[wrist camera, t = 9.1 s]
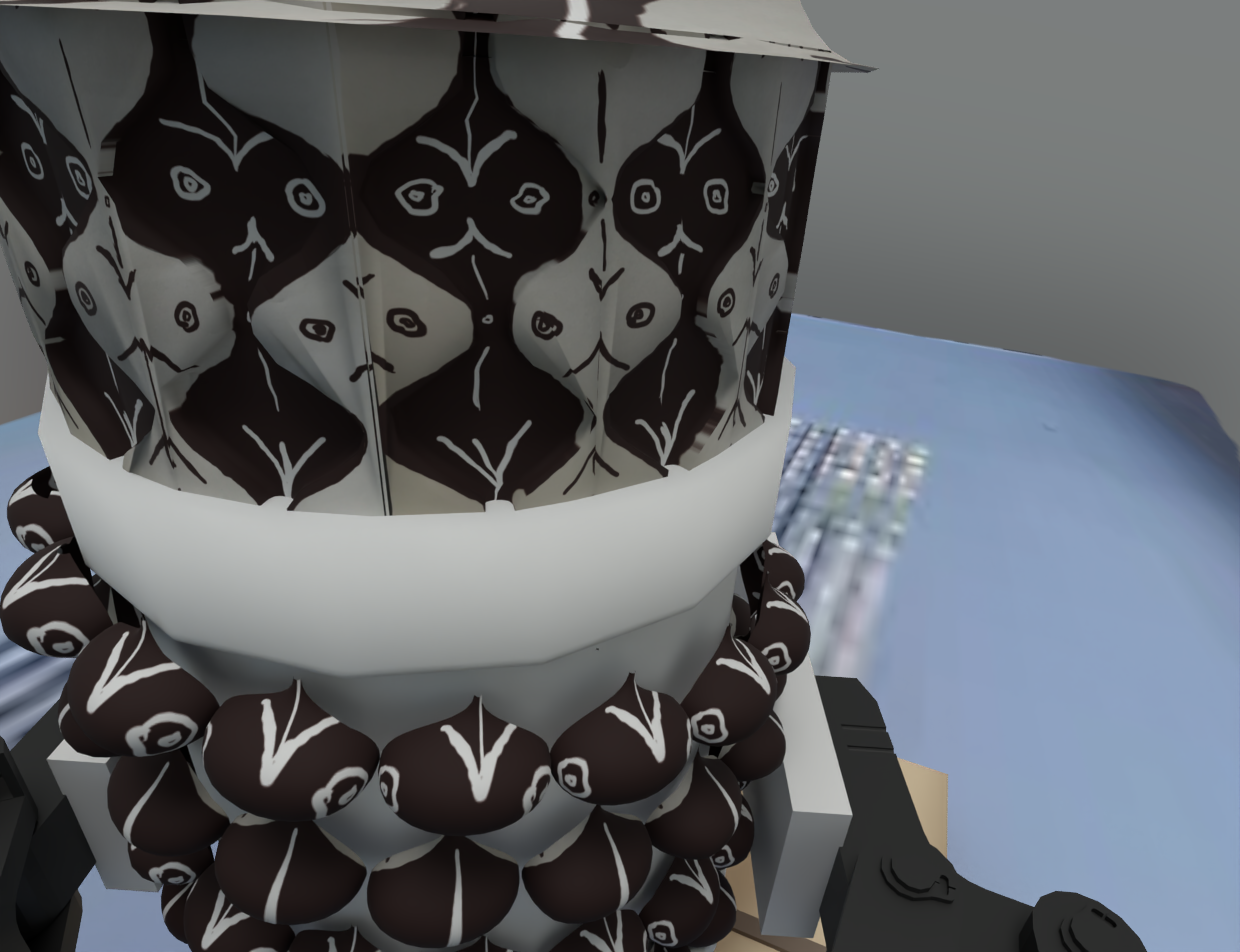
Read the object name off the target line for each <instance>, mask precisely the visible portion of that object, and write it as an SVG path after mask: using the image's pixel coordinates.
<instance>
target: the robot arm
mask: <svg viewBox="0 0 1240 952" xmlns="http://www.w3.org/2000/svg"><path fill="white" fill-rule="evenodd" d="M767 540H768V541H770V542H772V543H775V544H777V545H779V544H778V540H777V537H776V533H774V532H771V535H770V536H769V537H768V538H767ZM734 593H735V594H738V595H739V596H741V597H742V598H743V599H745V600H746V601H747V603H748V604H749V602H748V598H747V594H746V590H745V587H744V584H743V580H742V576H741V571H740V565H739V566H738V569H737V575H736V582H735V588H734ZM756 616H757V615H755V618H756ZM59 700H60V699H59ZM59 700H58V701H57V702H56V703H55V704H54V705H53V706H52V708H51V709H50V710H49V711H48V712H47V713H46V714H45V715H44V716H43V717H42V718H41V719H40V720H39V721H38V722H37V723H36V724H35V725H34V727H33V728H32V729H31V730H30V731H29V732H28V733H27V734H26V735H25V736H24V737H23V738H22V739H21V740H20V741H19V742H18V743H17V744H16V746H15V747H14V748H13V749H12V750H11V751H9V749H8V747H7V745H6V743H5V741H4V739H3V738H2V737H1V736H0V952H75V949H76V944H77V938H78V933H79V928H80V922H81V917H82V912H83V910H82V897H81V895H80V893H79V891H78V887H79V886H80V885H81V883H82V882H83V880H84V879H85V878H86V876H87V875H88V873H89V872H90V870H91V869H92V868H93V866H94V865H95V866H96V868H97V870H98V872H99V874H100V876H101V879H102V881H103V883H104V885H105V887H106V889H117V890H131V891H145V892H159V890H160V888H161V887H162V885H163V884H160V883H154V882H151V881H149V880H146V879H144V878H142V877H141V876H140V875H139V874H138V873H137V872H136V871H135V870H134V869H133V868H132V867H131V863H130V858H129V854H128V841H127V840H126V839H125V838H124V837H123V836H122V835H121V834H120V832H119V831H118V829H117V828H116V826H115V825H114V823H113V821H112V820H111V816H110V813H109V810H108V802H107V787H108V783H109V779H110V776H111V774H112V772H113V770H114V768H115V766H116V764H117V762H118V761H119V760H120V758H121V757H122V756H117V757H109V758H102V757H91V756H88V755H84V754H80V753H77V752H76V751H75V750H74V749H73V748H72V747H71V746H70V745H69V744H68V743H67V742H66V741H65V739H64V737H63V735H62V733H61V731H60V727H59V722H58V716H57V714H58V704H59ZM773 711H774V712H775V713H776V715H777V716H778V718H779V719H780V721H781V723H782V726H783V730H784V733H785V737H786V753H785V756H784V760H783V762H782V764H781V766H780V767H779V768H777V769H776V770H775V771H774V772H772V773H771V774H769V775H767V776H765V777H763V778H760V779H757V780H753V781H751V782H750V783H749V784H748V786H747V787H746V788H744V789H743V790H742V791H743V796H744V798H745V799H746V801H747V802H748V804H749V806H750V808H751V811H752V814H753V819H754V840H753V845H752V847H751V850H750V854H751V861H752V869H753V877H754V885H755V892H756V900H757V908H758V916H759V924H760V931H761V935H773V936H787V937H801V938H813V937H814V934H815V931H816V928H817V925H818V922H819V919H820V918H821V923H822V928H823V933H824V938H825V943H826V948H827V949H826V952H1147V951H1146V949H1145V947H1144V945H1143V943H1142V941H1141V940H1140V938H1139V937H1138V936H1137V934H1136V933H1135V932H1134V931H1133V930H1132V929H1131V928H1130V927H1129V926H1128V925H1127V924H1126V923H1125V922H1124V920H1123V919H1122V918H1121V917H1119V916H1118V915H1117V914H1115V913H1114V912H1112V911H1111V910H1109V909H1108V908H1107V907H1105V906H1104V905H1102V904H1101V903H1099V902H1098V901H1095V900H1093V899H1090V898H1088V897H1085V896H1083V895H1080V894H1078V893H1073V892H1062V891H1055V892H1052V893H1049V894H1047V895H1044V896H1042V897H1040V899H1039V901H1038V902H1037V904H1036V905H1035V907H1032V906H1029V905H1027V904H1024V903H1021V902H1019V901H1016V900H1013V899H1011V898H1008V897H1005V896H1002V895H1000V894H997V893H994V892H992V891H989V890H986V889H984V888H982V887H980V886H978V885H976V884H973V883H971V882H969V881H968V880H966V879H965V878H963V877H962V876H960V875H959V874H957V873H956V871H955V869H954V867H953V865H952V864H951V863H950V862H949V861H948V859H947V858H946V857H945V856H944V855H943V854H942V853H941V852H940V851H939V850H938V849H937V848H936V847H934V846H932V845H931V844H930V843H929V841H928V839H927V837H926V835H925V833H924V831H923V828H922V825H921V822H920V820H919V817H918V814H917V811H916V809H915V806H914V803H913V800H912V798H911V795H910V792H909V789H908V786H907V784H906V781H905V778H904V775H903V773H902V770H901V767H900V764H899V762H898V759H897V756H896V754H894V751H893V750H894V748H893V745H892V742H891V740H890V737H889V734H888V732H886V726H885V723H884V720H883V717H882V715H881V712H880V709H879V706H878V704H877V701H876V700H875V699H874V698H873V697H872V695H871V694H870V693H869V692H868V691H867V690H866V689H865V687H864V686H863V685H862V684H861V683H860V682H859V680H858V679H857V678H844V677H829V676H815V675H814V672H813V668H812V665H811V661H810V657H809V654H808V653H807V655H806V657H805V659H804V661H803V662H802V664H801V665H800V666H799V667H798V668H797V669H795V670H794V671H793V672H791V673H788V674H787V682H786V685H785V688H784V690H783V693H782V694H781V696H780V697H779V698H778V699H777V700H776V701H775V704H774V707H773Z"/></svg>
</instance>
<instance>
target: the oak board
mask: <svg viewBox="0 0 1240 952" xmlns="http://www.w3.org/2000/svg"><path fill="white" fill-rule="evenodd" d="M897 759H898V762H899V764H900V767H901V770H902V773H903V775H904V778H905V781H906V784H907V786H908V789H909V792H910V795H911V798H912V800H913V803H914V806H915V809H916V811H917V814H918V817H919V820H920V822H921V825H922V828H923V831H924V833H925V835H926V837H927V839H928V841H929V843H930V844H931V845H932V846H934V847H936V848H937V849H938V850H939V851H940V852H941V853H942V854H943V855H944V856H945V857H946V858H947V797H948V774H945V773H942V772H939V771H936V770H933V769H930V768H927V767H924V766H921V765H918V764H915V763H912V762H909V761H906V760H903V759H900V758H897ZM741 794H742V795H743V791H741ZM725 877H726V879H727V880H728V882H729V884H730V885H731V888H732V891H733V893H734V896H735V901H736V922H735V925H734V926H733V928H732V930H731V932H730V933H729V934H728V935H727V936H726V937H725V938H723V939H722V940H720V941H719V942H717V944H716V948H715V950H714V951H713V952H826V949H827V948H826V943H825V938H824V933H823V928H822V923H821V918H820V919H819V922H818V925H817V928H816V931H815V934H814V937H813V938H801V937H787V936H773V935H761V931H760V924H759V916H758V908H757V900H756V892H755V885H754V877H753V869H752V861H751V854H750V852H749V854H748V856H747V858H746V859H745V860H744V861H742V862H741V863H739V864H738V865H735V866H732V867H729V868H726V874H725Z"/></svg>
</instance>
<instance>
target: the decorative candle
mask: <svg viewBox="0 0 1240 952" xmlns="http://www.w3.org/2000/svg"><path fill="white" fill-rule="evenodd" d="M877 69H878V68H874V67H869V66H864V65H859V64H855V63H851V62H849V61H848V60H846V59H844V58H843V57H841V56H839V55H838V54H836V53H835V52H833V51H832V50H830V49H829V48H828V46H827V45H826V44H825V43H824V41H823V40H822V39H821V38H820V37H819V35H818V34H817V33H816V32H815V30H814V29H813V27H812V25H811V23H810V21H809V19H808V17H807V15H806V13H805V11H804V9H803V7H802V5H801V2H800V0H0V245H1V248H2V250H3V253H4V256H5V259H6V262H7V265H8V267H9V270H10V273H11V276H12V279H13V282H14V284H15V287H16V290H17V293H18V296H19V299H20V302H21V304H22V307H23V310H24V312H25V315H26V318H27V320H28V323H29V325H30V328H31V331H32V333H33V335H34V337H35V339H36V341H37V343H38V345H39V347H40V349H41V351H42V352H43V354H44V356H45V358H46V361H47V366H48V376H47V381H46V388H45V393H44V399H43V405H42V411H41V417H40V423H39V429H38V435H39V438H40V440H41V443H42V446H43V449H44V451H45V454H46V457H47V460H48V462H49V465H50V466H49V467H47V468H45V469H43V470H41V471H39V472H37V473H35V474H34V475H32V476H31V477H29V478H28V479H26V480H25V481H24V482H23V483H22V484H20V485H19V486H18V487H17V488H16V489H15V490H14V492H13V494H12V496H11V498H10V500H9V502H8V507H7V519H8V522H9V525H10V528H11V530H12V533H13V535H14V536H15V537H16V538H17V540H18V541H19V542H20V543H21V544H22V545H23V546H24V547H25V548H26V549H28V550H30V551H32V552H33V553H35V554H33V555H32V556H31V557H29V558H28V559H27V560H26V561H25V562H23V563H22V564H21V565H20V566H19V567H18V568H17V570H16V571H15V572H14V574H13V575H12V577H11V578H10V579H9V581H8V582H7V584H6V586H5V588H4V591H3V593H2V596H1V602H0V619H1V623H2V627H3V631H4V633H5V634H6V636H7V637H8V639H10V640H11V641H13V642H14V643H16V644H18V645H19V646H21V647H23V648H24V649H26V650H29V651H31V652H34V653H37V654H40V655H45V656H50V657H59V658H76V660H75V662H74V663H73V666H72V668H71V671H70V675H69V678H68V681H67V683H66V684H65V686H64V688H63V691H62V694H61V697H60V700H59V704H58V714H57V716H58V722H59V727H60V731H61V733H62V735H63V737H64V739H65V741H66V742H67V743H68V744H69V745H70V746H71V747H72V748H73V749H74V750H75V751H76V752H77V753H80V754H84V755H88V756H91V757H102V758H109V757H117V756H122V757H121V758H120V760H119V761H118V762H117V764H116V766H115V768H114V770H113V772H112V774H111V776H110V779H109V783H108V787H107V802H108V810H109V813H110V816H111V820H112V821H113V823H114V825H115V826H116V828H117V829H118V831H119V832H120V834H121V835H122V836H123V837H124V838H125V839H126V840H127V841H128V854H129V858H130V863H131V867H132V868H133V869H134V870H135V871H136V872H137V873H138V874H139V875H140V876H141V877H142V878H144V879H146V880H149V881H151V882H154V883H160V884H164V885H163V890H162V896H161V909H162V914H163V918H164V922H165V924H166V926H167V928H168V930H169V931H170V932H171V933H172V935H173V936H174V937H175V938H177V939H178V940H180V941H182V942H184V943H186V944H188V945H189V948H190V949H191V951H192V952H713V951H714V950H715V948H716V944H717V942H719V941H720V940H722V939H723V938H725V937H726V936H727V935H728V934H729V933H730V932H731V930H732V928H733V926H734V925H735V922H736V901H735V896H734V893H733V891H732V888H731V885H730V884H729V882H728V880H727V879H726V877H725V874H726V868H729V867H732V866H735V865H738V864H739V863H741V862H742V861H744V860H745V859H746V858H747V856H748V854H749V852H750V850H751V847H752V845H753V840H754V819H753V814H752V811H751V808H750V806H749V804H748V802H747V801H746V799H745V798H744V796H743V795H742V794H741V791H742V790H743V789H744V788H746V787H747V786H748V784H749V783H750V782H751V781H753V780H757V779H760V778H763V777H765V776H767V775H769V774H771V773H772V772H774V771H775V770H776V769H777V768H779V767H780V766H781V764H782V762H783V760H784V756H785V753H786V737H785V733H784V730H783V726H782V723H781V721H780V719H779V718H778V716H777V715H776V713H775V712H774V711H773V707H774V704H775V701H776V700H777V699H778V698H779V697H780V696H781V694H782V693H783V690H784V688H785V685H786V682H787V674H788V673H791V672H793V671H794V670H795V669H797V668H798V667H799V666H800V665H801V664H802V662H803V661H804V659H805V657H806V655H807V653H808V650H809V645H810V637H811V632H810V626H809V621H808V619H807V616H806V614H805V612H804V611H803V609H802V608H801V606H800V605H799V604H798V603H797V602H796V601H797V600H798V599H799V598H800V596H801V595H802V593H803V590H804V582H805V578H804V573H803V570H802V568H801V566H800V565H799V563H798V562H797V560H796V559H795V558H794V557H793V556H792V555H791V554H790V553H789V552H788V551H786V550H785V549H784V548H782V547H780V546H779V545H777V544H775V543H772V542H770V541H768V540H767V538H768V537H769V536H770V535H771V530H772V525H773V519H774V514H775V508H776V502H777V497H778V491H779V485H780V480H781V474H782V469H783V463H784V457H785V452H786V446H787V441H788V435H789V429H790V424H791V417H792V405H793V393H794V382H795V370H796V367H795V366H794V365H793V364H792V363H791V362H790V361H789V360H788V359H786V358H785V357H784V353H785V347H786V341H787V335H788V329H789V323H790V317H791V312H792V306H793V300H794V294H795V289H796V282H797V277H798V270H799V264H800V258H801V252H802V246H803V240H804V234H805V228H806V221H807V215H808V209H809V202H810V196H811V190H812V184H813V178H814V172H815V166H816V159H817V154H818V148H819V142H820V136H821V131H822V125H823V120H824V113H825V107H826V101H827V95H828V88H829V82H830V75H831V72H864V73H868V72H871V71H874V70H877ZM739 565H740V571H741V576H742V580H743V584H744V587H745V590H746V594H747V598H748V602H749V604H748V603H747V601H746V600H745V599H743V598H742V597H741V596H739V595H738V594H735V593H734V588H735V582H736V575H737V569H738V566H739ZM90 569H91V570H92V571H94V572H95V573H96V574H95V575H94V576H92V575H91V571H90ZM755 615H757V616H756V618H755ZM217 840H218V841H219V843H218V848H217V852H216V856H215V861H214V857H213V853H212V849H211V846H210V845H211V844H213V843H215V842H216V841H217Z"/></svg>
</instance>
